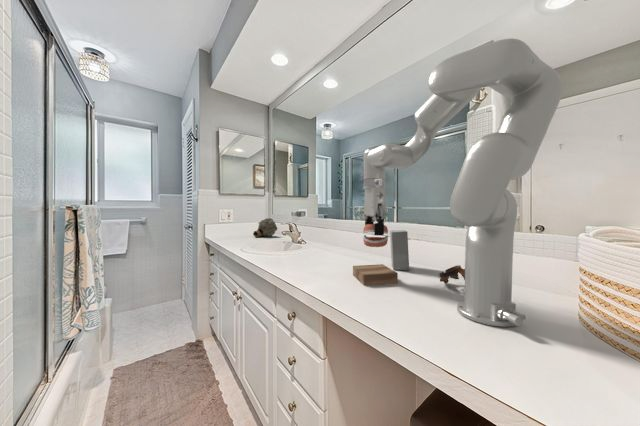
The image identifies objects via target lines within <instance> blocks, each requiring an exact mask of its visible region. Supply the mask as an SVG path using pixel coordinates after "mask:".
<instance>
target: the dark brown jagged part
mask: <svg viewBox="0 0 640 426" xmlns="http://www.w3.org/2000/svg"><path fill="white" fill-rule="evenodd" d="M459 274H460V275H461V277H462V278H463V280H464V281H465V268H463V267H462V266H461V265H454V266H452V267H450V268H447V269H445V270H444V271H440V273H438V276H439V277H440V279H439V282H441V283H442V282H443V283H444V284H445V285H447V284H448V283H449V278H451V279H455V280H459Z"/></svg>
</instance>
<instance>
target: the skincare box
mask: <svg viewBox="0 0 640 426" xmlns="http://www.w3.org/2000/svg"><path fill="white" fill-rule="evenodd" d="M408 234H409V233H408V231H407V230H406V229H399V230H398V229H397V230H394V229H393V230H390V231H389V235H390V240H389V241H390V258H391V267H392V270H393V271H410V256H409V237H408V236H409V235H408Z"/></svg>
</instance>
